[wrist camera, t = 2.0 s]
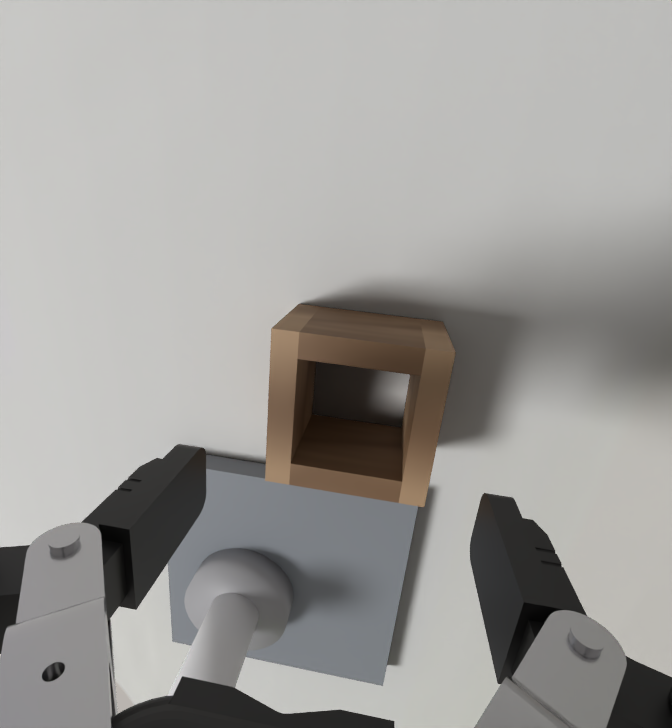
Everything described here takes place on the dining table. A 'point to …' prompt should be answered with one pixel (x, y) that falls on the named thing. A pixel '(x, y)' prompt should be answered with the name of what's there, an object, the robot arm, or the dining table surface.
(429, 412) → the wooden square frame
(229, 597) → the post stand
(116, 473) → the dining table surface
